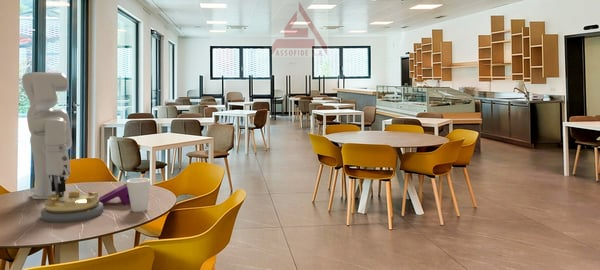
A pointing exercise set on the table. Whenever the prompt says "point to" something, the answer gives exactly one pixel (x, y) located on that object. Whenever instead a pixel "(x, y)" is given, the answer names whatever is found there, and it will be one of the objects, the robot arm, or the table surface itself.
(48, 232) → the table surface
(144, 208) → the foam cup
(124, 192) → the mounting bracket
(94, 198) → the brass lugged disc
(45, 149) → the robot arm
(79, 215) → the grey round plate
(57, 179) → the pin
